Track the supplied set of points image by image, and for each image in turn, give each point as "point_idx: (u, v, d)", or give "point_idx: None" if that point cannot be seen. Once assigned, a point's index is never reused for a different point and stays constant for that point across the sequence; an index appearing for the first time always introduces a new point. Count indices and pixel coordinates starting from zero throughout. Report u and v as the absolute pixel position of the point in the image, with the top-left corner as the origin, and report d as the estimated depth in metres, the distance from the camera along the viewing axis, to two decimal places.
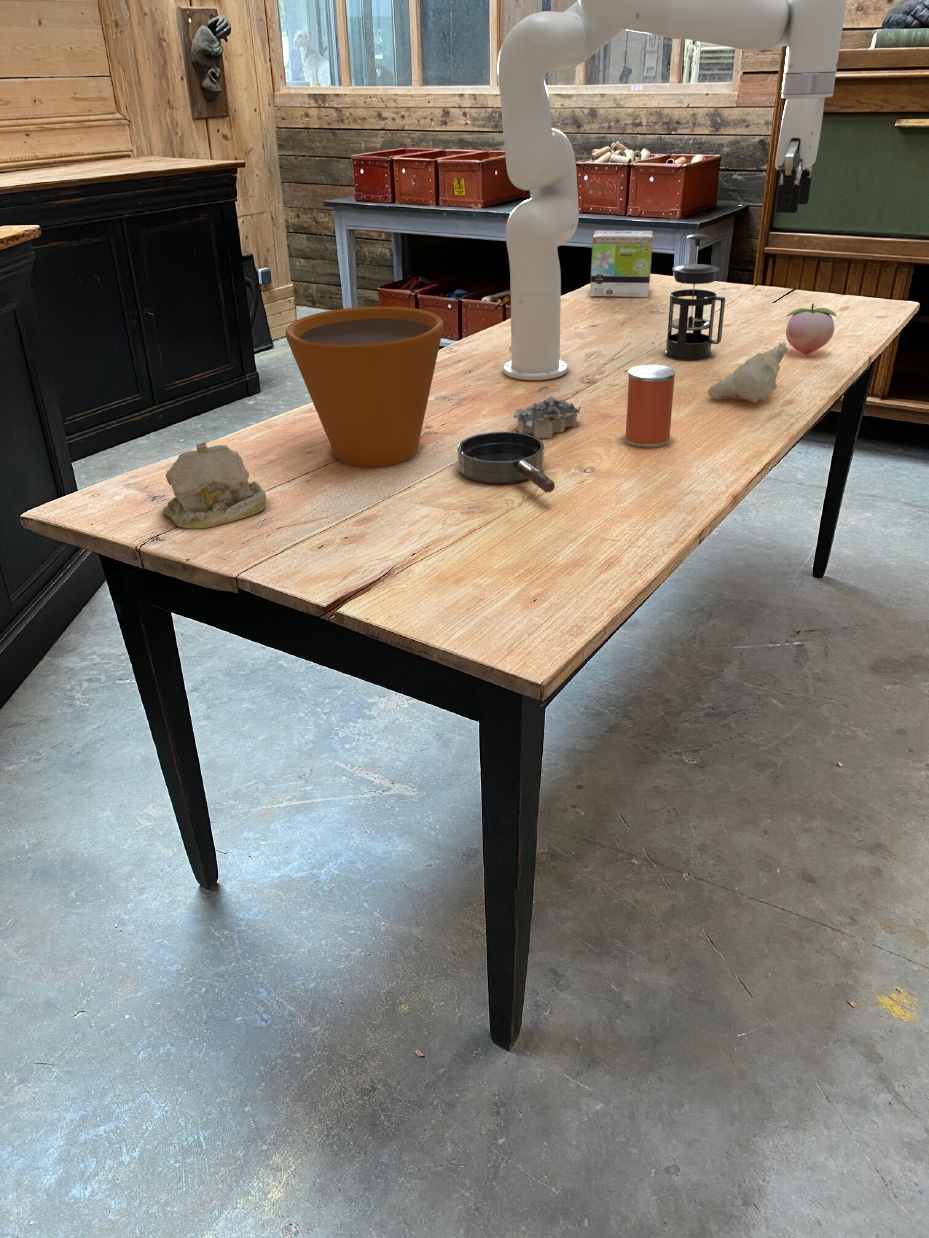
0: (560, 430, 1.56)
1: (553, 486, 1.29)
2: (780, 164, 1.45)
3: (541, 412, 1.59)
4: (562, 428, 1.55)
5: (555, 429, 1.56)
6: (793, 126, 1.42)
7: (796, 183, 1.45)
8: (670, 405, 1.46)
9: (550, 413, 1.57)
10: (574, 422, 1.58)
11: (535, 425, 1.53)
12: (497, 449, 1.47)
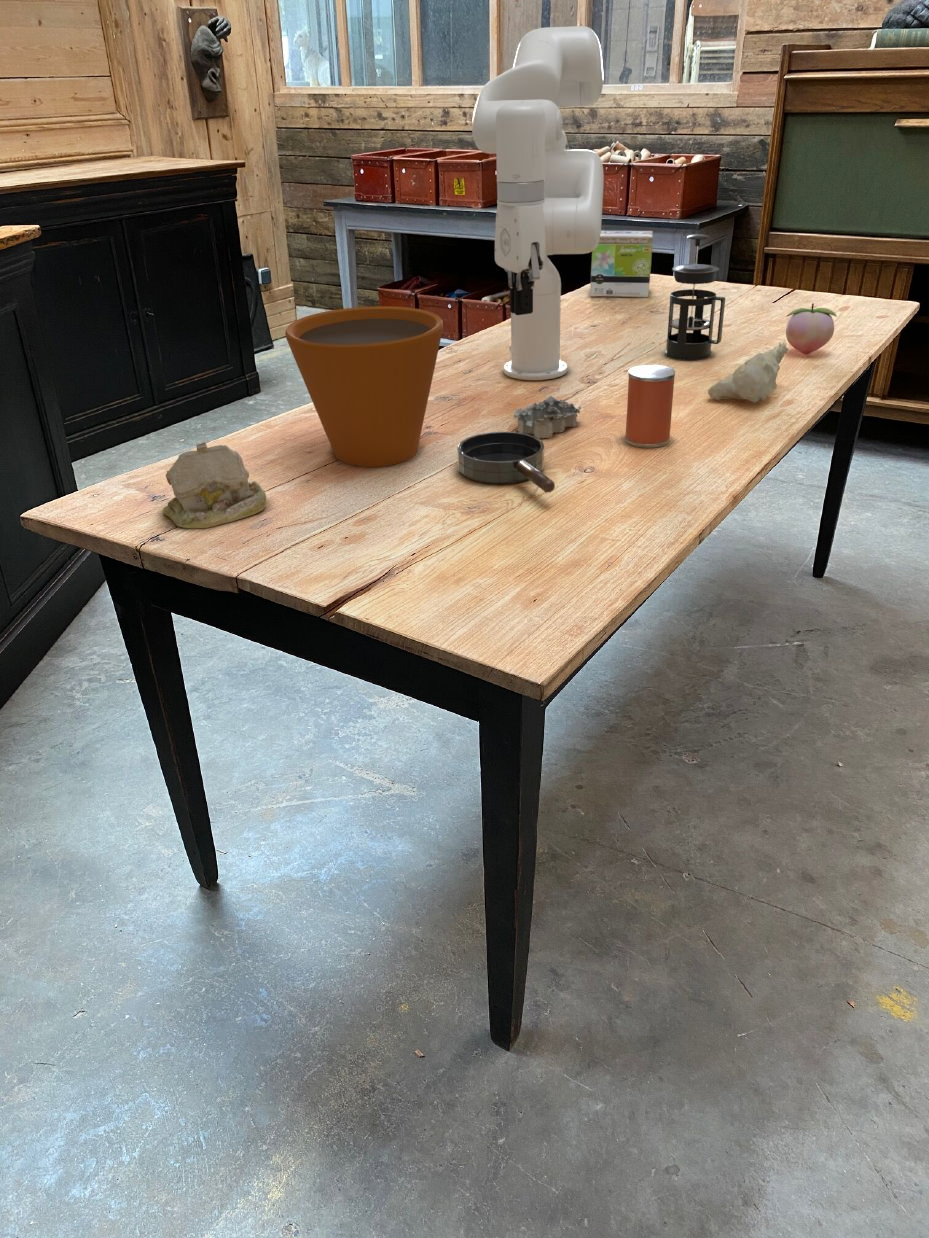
0: (560, 430, 1.56)
1: (553, 486, 1.29)
2: (524, 268, 1.48)
3: (541, 412, 1.59)
4: (562, 428, 1.55)
5: (555, 429, 1.56)
6: (531, 232, 1.46)
7: (532, 289, 1.54)
8: (670, 405, 1.46)
9: (550, 413, 1.57)
10: (574, 422, 1.58)
11: (535, 425, 1.53)
12: (497, 449, 1.47)
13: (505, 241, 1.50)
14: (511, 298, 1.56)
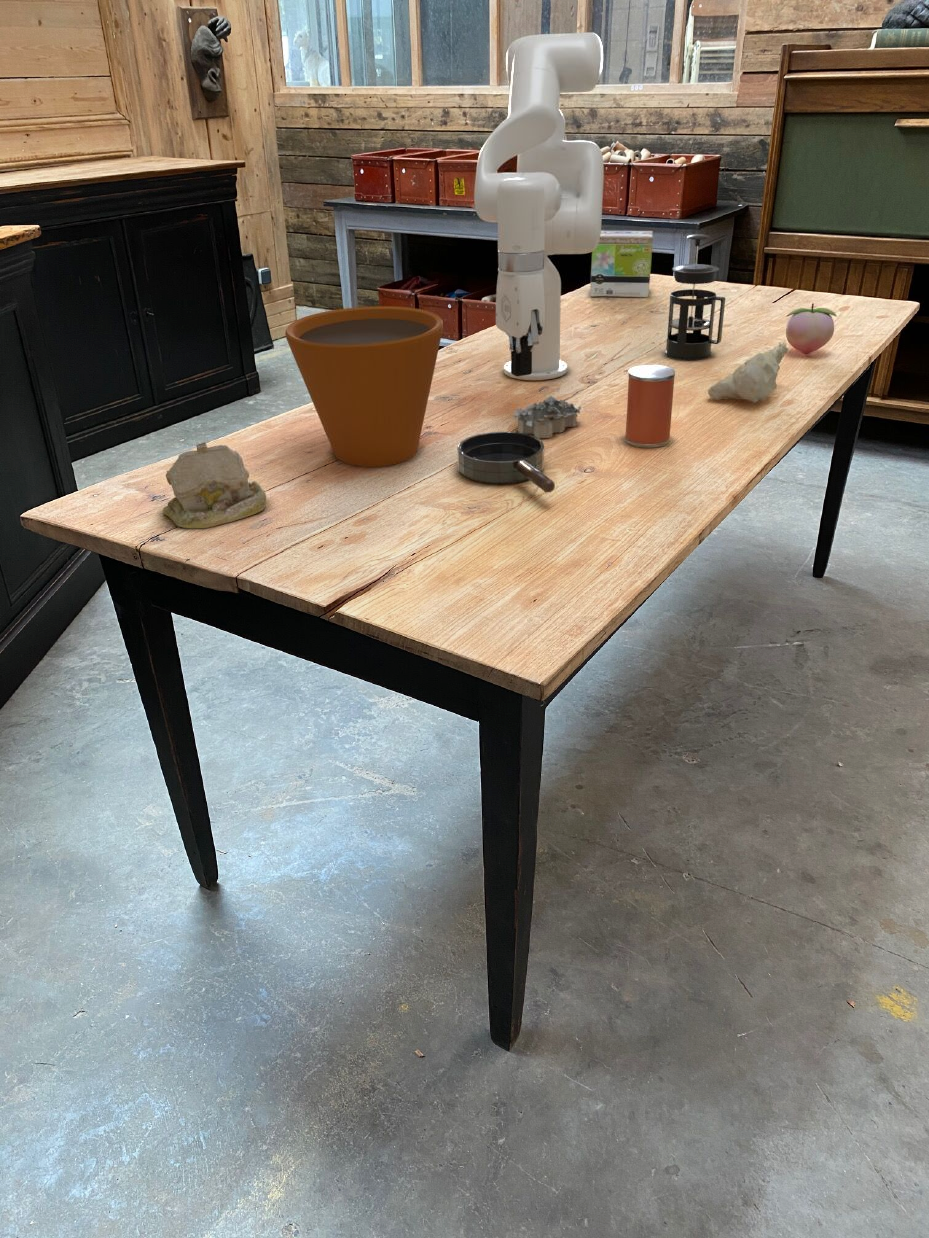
0: (560, 430, 1.56)
1: (553, 486, 1.29)
2: (524, 333, 1.53)
3: (541, 412, 1.59)
4: (562, 428, 1.55)
5: (555, 429, 1.56)
6: (531, 299, 1.51)
7: (531, 351, 1.59)
8: (670, 405, 1.46)
9: (550, 413, 1.57)
10: (574, 422, 1.58)
11: (535, 425, 1.53)
12: (497, 449, 1.47)
13: (506, 307, 1.55)
14: (512, 361, 1.60)
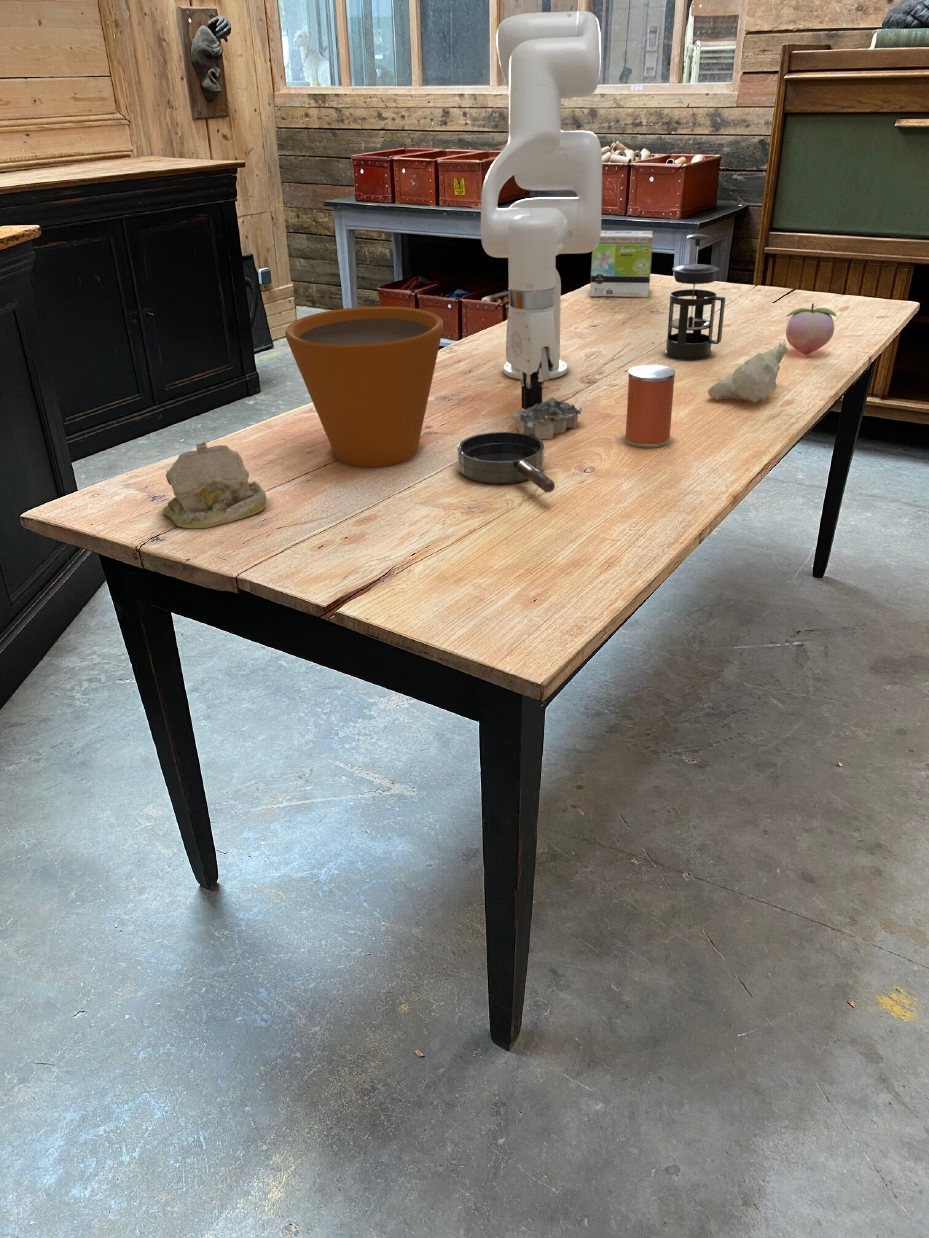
0: (561, 431, 1.55)
1: (553, 486, 1.29)
2: (535, 370, 1.53)
3: (543, 413, 1.59)
4: (563, 429, 1.55)
5: (556, 430, 1.55)
6: (542, 337, 1.50)
7: (541, 386, 1.59)
8: (670, 405, 1.46)
9: (551, 414, 1.57)
10: (575, 423, 1.57)
11: (536, 426, 1.53)
12: (497, 449, 1.47)
13: (516, 343, 1.55)
14: (523, 395, 1.60)
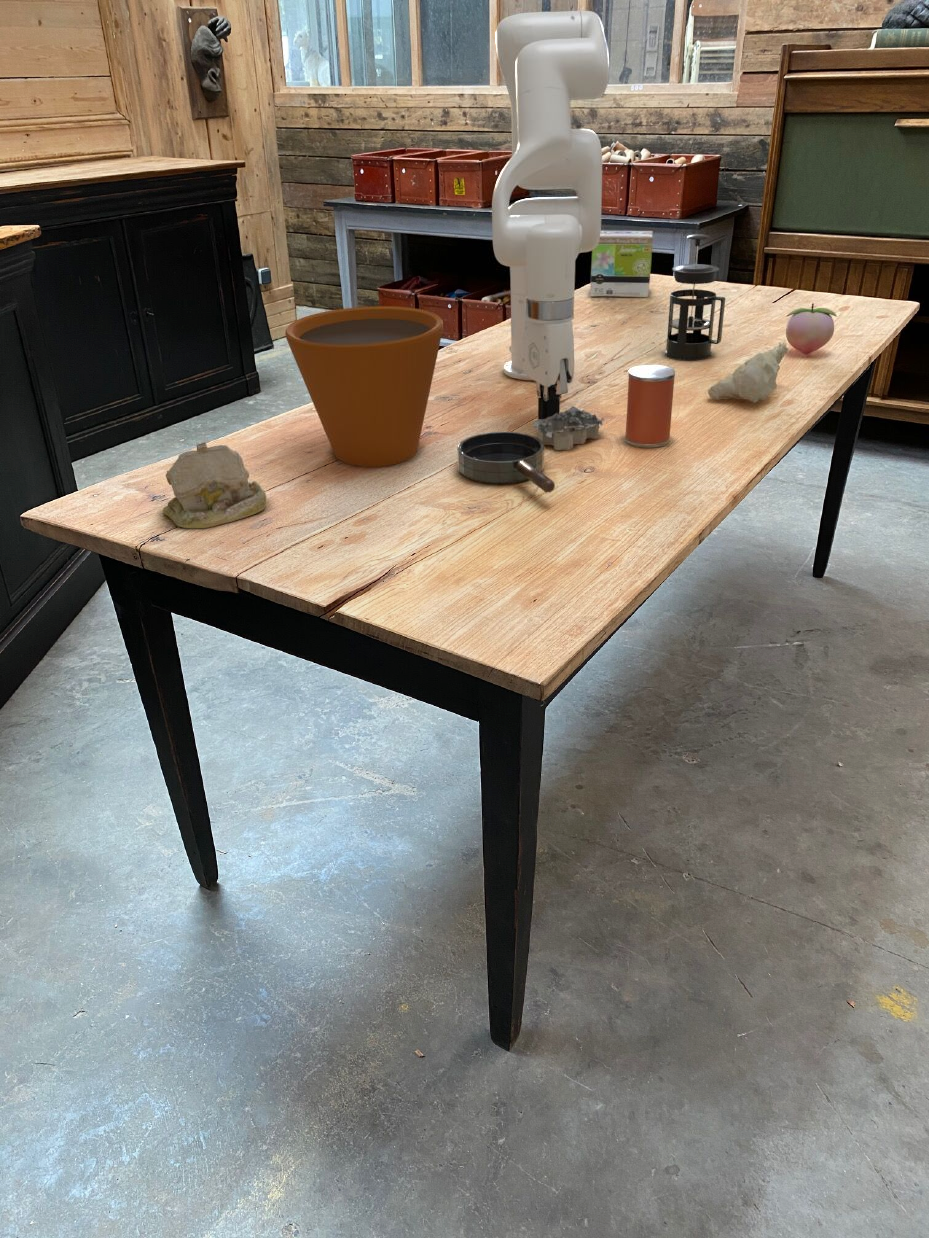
0: (581, 442, 1.51)
1: (553, 486, 1.29)
2: (553, 383, 1.48)
3: (563, 423, 1.54)
4: (583, 440, 1.51)
5: (576, 440, 1.51)
6: (560, 349, 1.46)
7: (559, 398, 1.54)
8: (670, 405, 1.46)
9: (571, 424, 1.52)
10: (596, 434, 1.53)
11: (555, 436, 1.48)
12: (497, 449, 1.47)
13: (534, 354, 1.50)
14: (539, 407, 1.55)
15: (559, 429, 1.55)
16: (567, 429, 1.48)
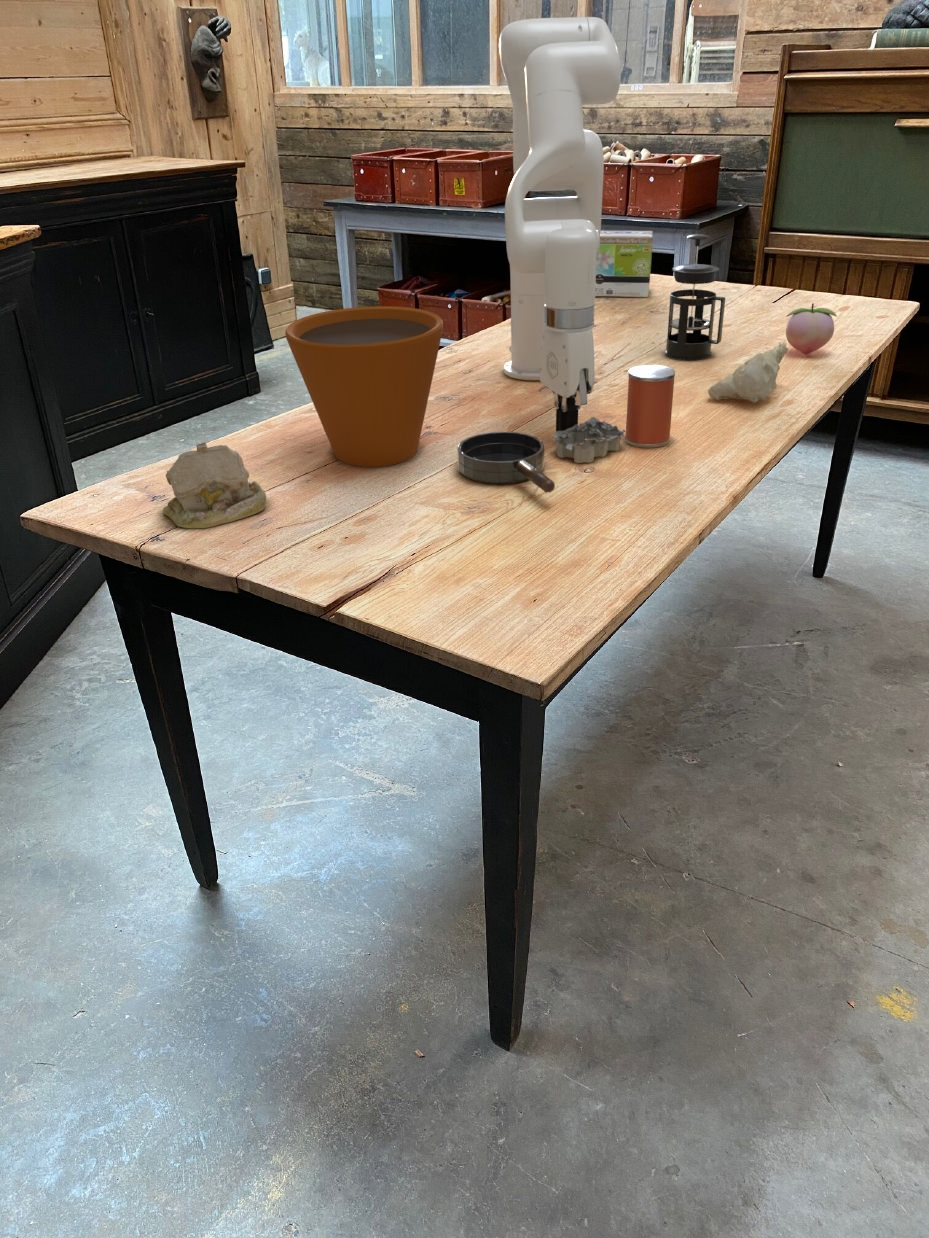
0: (602, 454, 1.46)
1: (553, 486, 1.29)
2: (572, 393, 1.43)
3: (583, 434, 1.49)
4: (604, 452, 1.46)
5: (597, 453, 1.46)
6: (580, 358, 1.41)
7: (577, 409, 1.49)
8: (670, 405, 1.46)
9: (592, 435, 1.47)
10: (618, 446, 1.48)
11: (575, 449, 1.43)
12: (497, 449, 1.47)
13: (552, 364, 1.45)
14: (557, 418, 1.50)
15: (579, 441, 1.50)
16: (588, 441, 1.43)
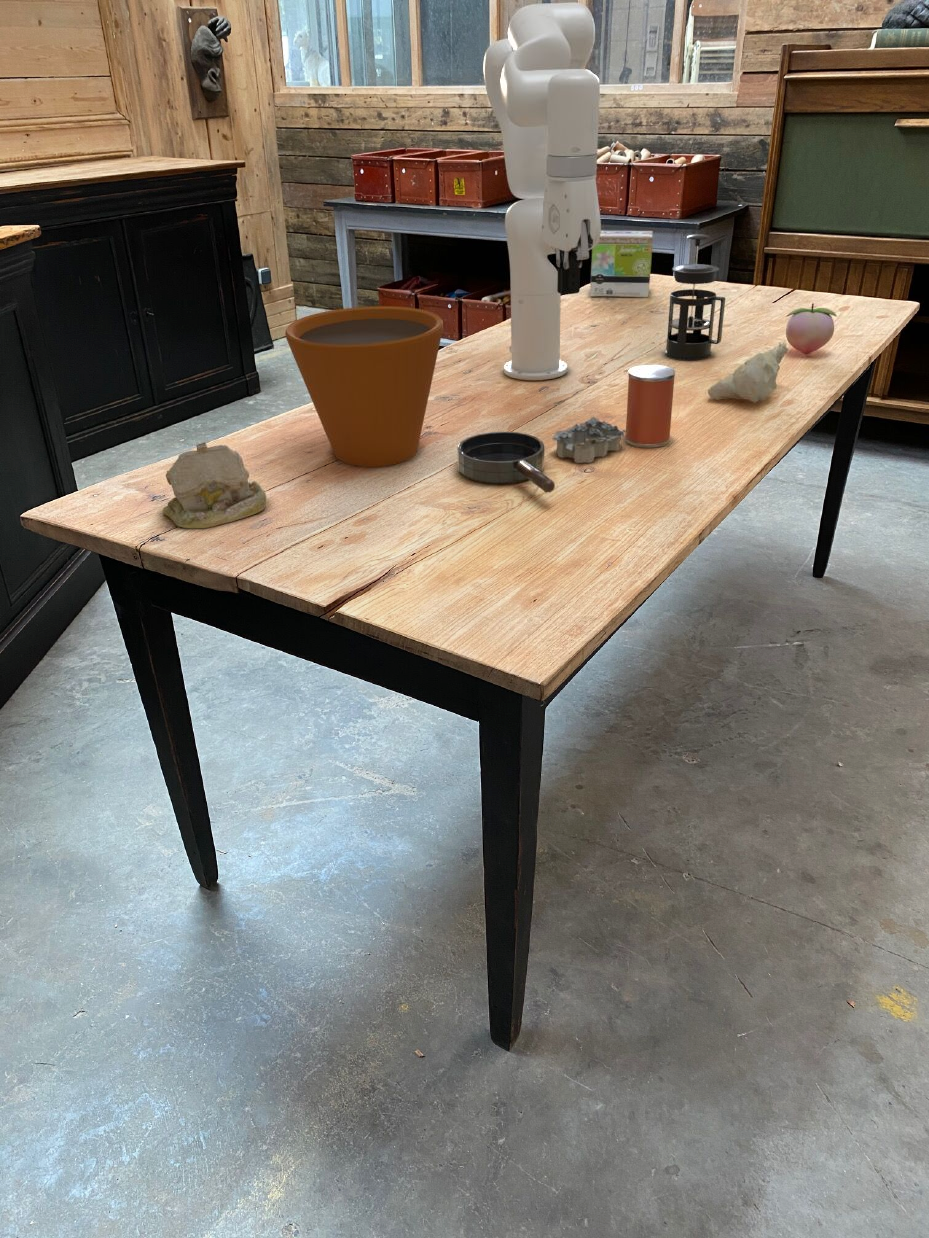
0: (602, 454, 1.46)
1: (553, 486, 1.29)
2: (574, 246, 1.42)
3: (583, 434, 1.49)
4: (604, 452, 1.45)
5: (597, 453, 1.46)
6: (582, 208, 1.40)
7: (579, 267, 1.48)
8: (670, 405, 1.46)
9: (592, 436, 1.47)
10: (618, 446, 1.48)
11: (575, 449, 1.43)
12: (497, 449, 1.47)
13: (554, 218, 1.44)
14: (559, 278, 1.50)
15: (579, 441, 1.50)
16: (588, 441, 1.43)
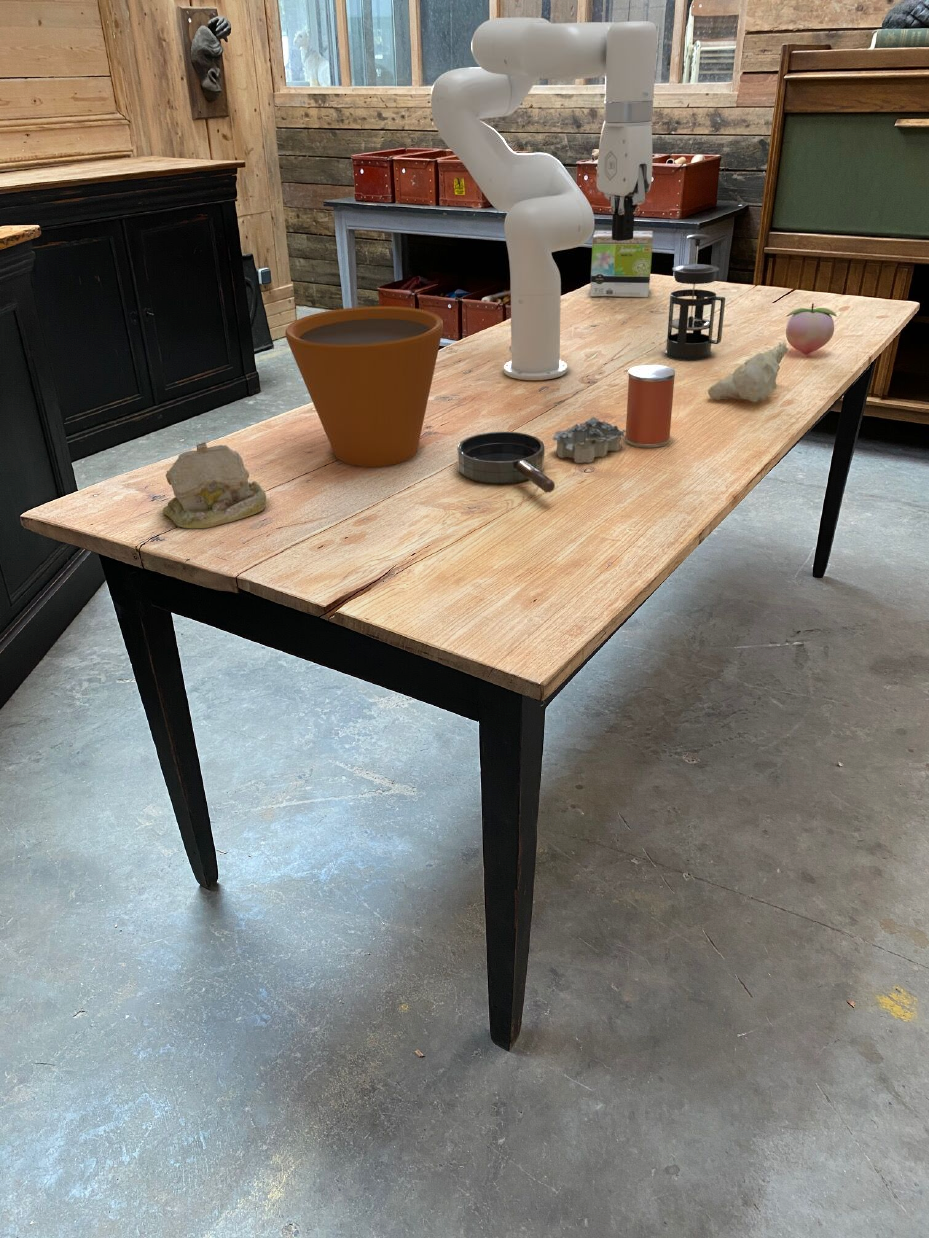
0: (602, 454, 1.46)
1: (553, 486, 1.29)
2: (631, 190, 1.48)
3: (583, 434, 1.49)
4: (604, 452, 1.45)
5: (597, 453, 1.46)
6: (640, 153, 1.45)
7: None
8: (670, 405, 1.46)
9: (592, 436, 1.47)
10: (618, 446, 1.48)
11: (575, 449, 1.43)
12: (497, 449, 1.47)
13: (610, 164, 1.49)
14: (614, 224, 1.55)
15: (579, 441, 1.50)
16: (588, 441, 1.43)
